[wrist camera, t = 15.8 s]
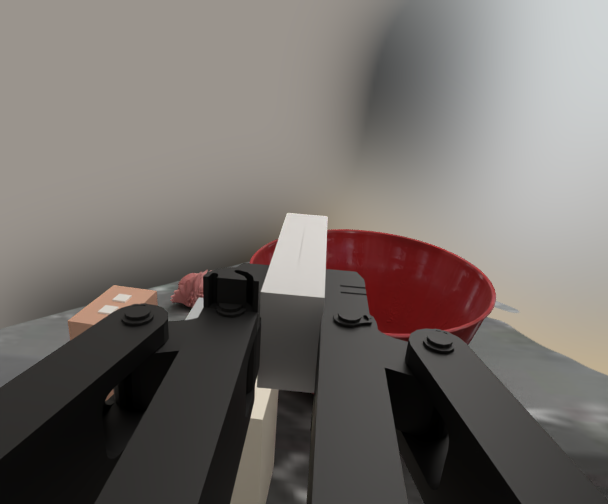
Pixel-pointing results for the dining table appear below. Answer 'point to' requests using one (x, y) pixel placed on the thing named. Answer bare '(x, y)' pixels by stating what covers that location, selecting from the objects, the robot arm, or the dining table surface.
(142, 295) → the terracotta block
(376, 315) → the mixing bowl
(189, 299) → the flower
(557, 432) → the dining table surface
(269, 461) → the cream block
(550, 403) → the dining table surface
